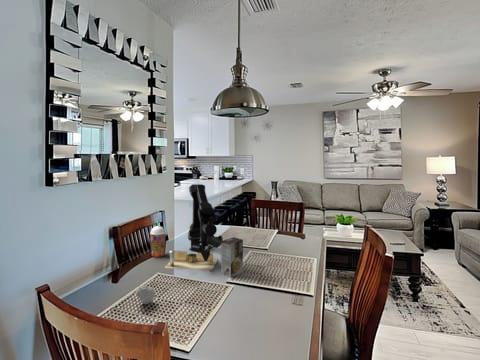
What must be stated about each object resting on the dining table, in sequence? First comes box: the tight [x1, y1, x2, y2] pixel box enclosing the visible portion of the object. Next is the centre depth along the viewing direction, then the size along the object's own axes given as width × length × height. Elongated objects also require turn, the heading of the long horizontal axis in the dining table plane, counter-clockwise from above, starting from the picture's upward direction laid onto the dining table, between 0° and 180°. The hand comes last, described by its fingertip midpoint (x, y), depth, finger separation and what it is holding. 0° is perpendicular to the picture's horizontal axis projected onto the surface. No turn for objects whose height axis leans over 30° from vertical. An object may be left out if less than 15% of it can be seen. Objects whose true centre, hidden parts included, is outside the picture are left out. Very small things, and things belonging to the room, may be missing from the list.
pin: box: [168, 249, 176, 267], centre depth 145 cm, size 3×3×8 cm
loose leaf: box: [197, 251, 214, 262], centre depth 151 cm, size 2×8×4 cm, turn 85°
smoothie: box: [149, 220, 166, 258], centre depth 160 cm, size 8×8×20 cm
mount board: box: [164, 257, 219, 272], centre depth 149 cm, size 16×24×1 cm, turn 84°
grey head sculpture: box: [135, 285, 156, 305], centre depth 108 cm, size 6×7×7 cm
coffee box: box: [220, 236, 244, 278], centre depth 137 cm, size 9×6×16 cm
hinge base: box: [174, 250, 198, 263], centre depth 152 cm, size 5×13×5 cm, turn 84°
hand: (206, 261), depth 148 cm, fingers closed
